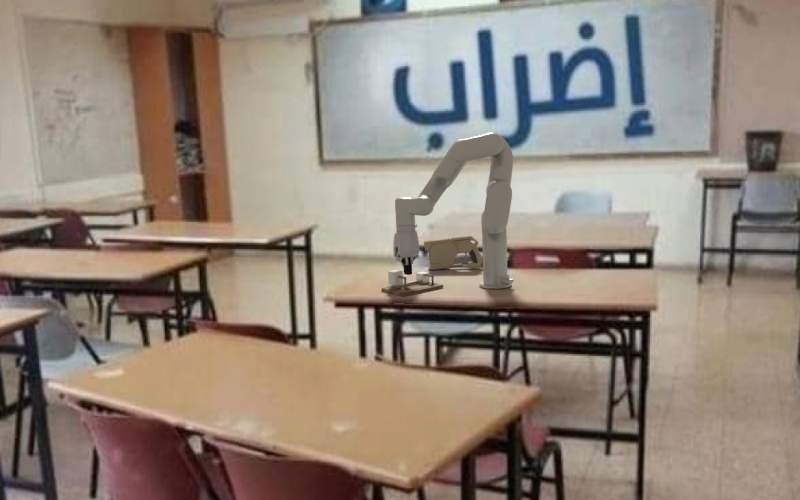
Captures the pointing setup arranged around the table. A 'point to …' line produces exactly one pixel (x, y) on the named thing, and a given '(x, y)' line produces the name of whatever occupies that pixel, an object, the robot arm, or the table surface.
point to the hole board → (413, 289)
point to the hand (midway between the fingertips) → (408, 274)
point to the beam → (420, 278)
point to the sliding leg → (396, 278)
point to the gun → (452, 252)
